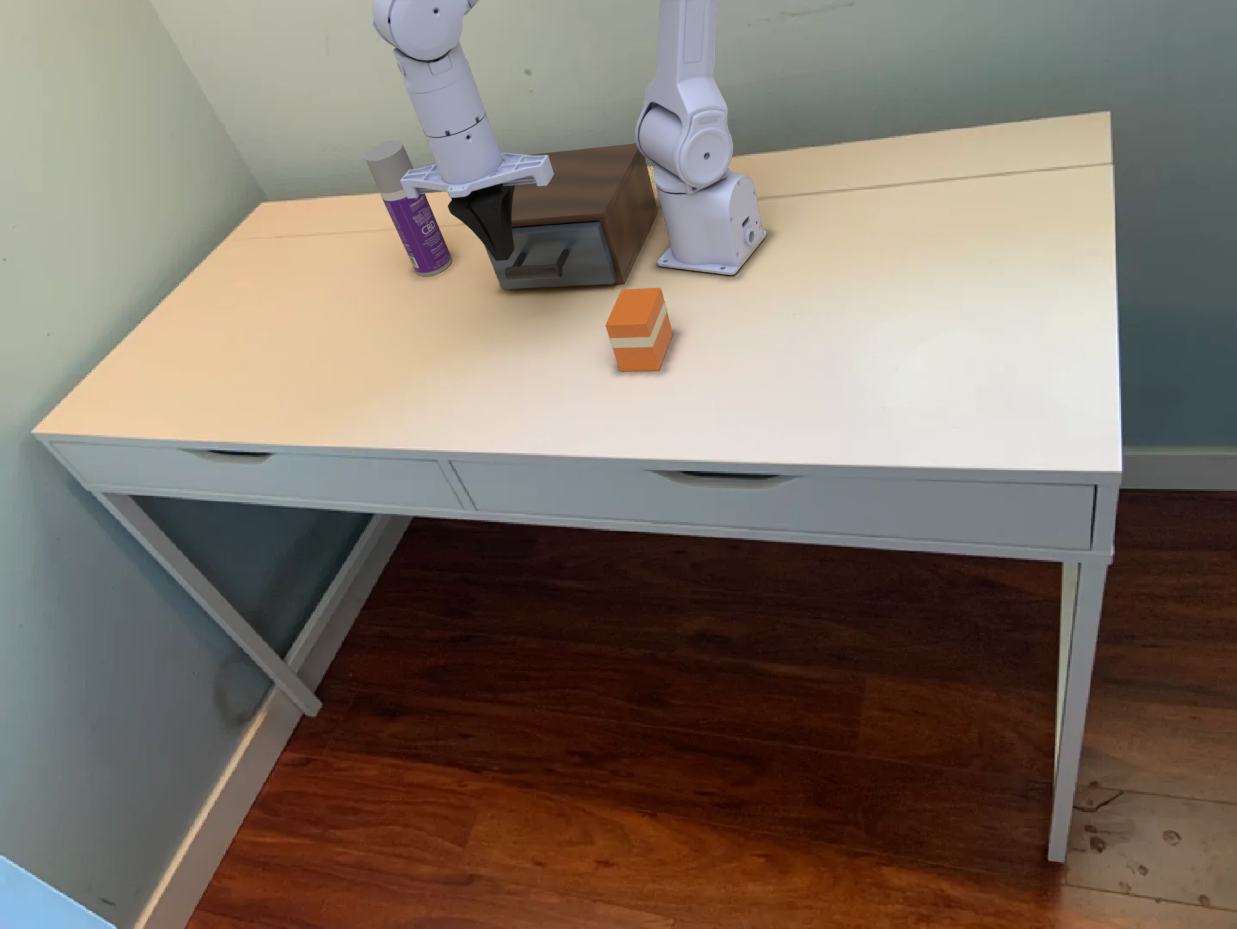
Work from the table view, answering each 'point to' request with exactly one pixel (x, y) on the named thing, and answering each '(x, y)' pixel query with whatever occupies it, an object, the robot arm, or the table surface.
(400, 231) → the container
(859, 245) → the table surface
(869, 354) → the table surface
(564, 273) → the drawer
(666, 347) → the snack box
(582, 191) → the cabinet
